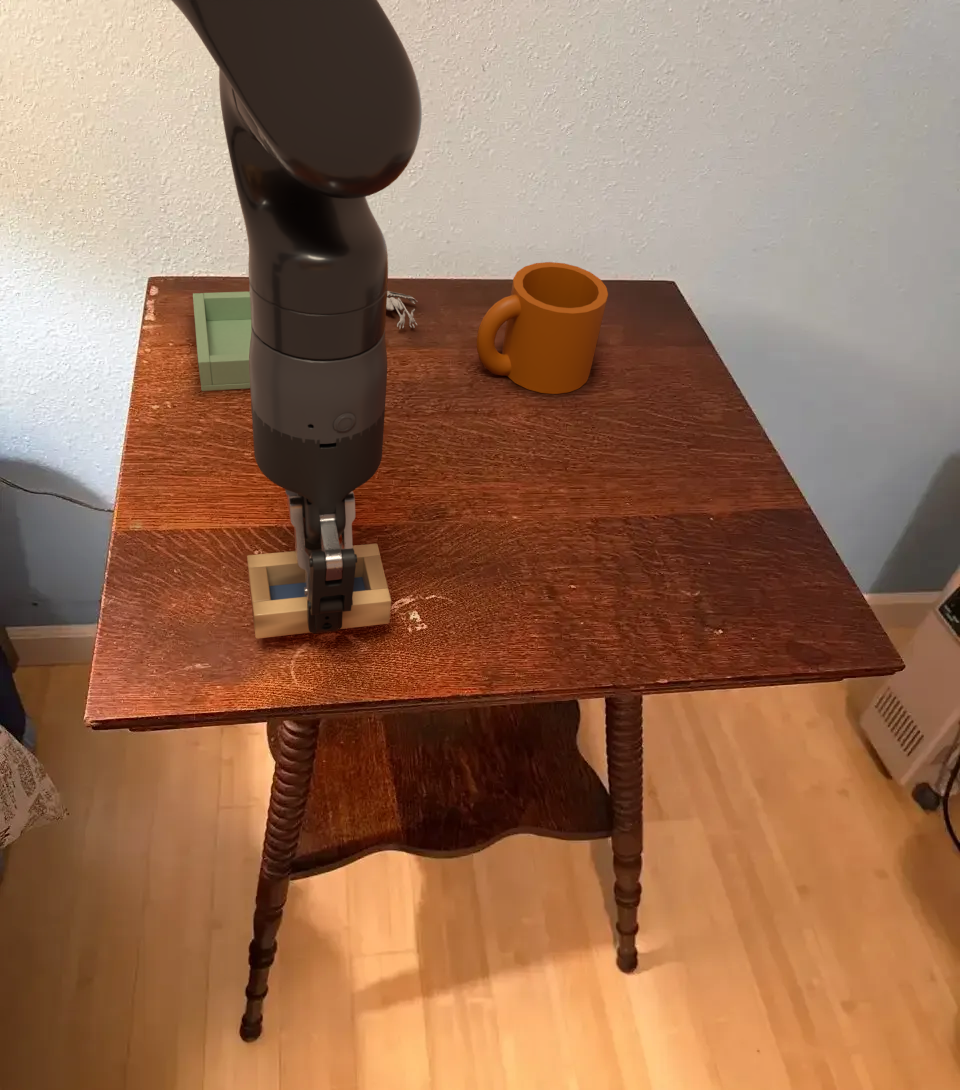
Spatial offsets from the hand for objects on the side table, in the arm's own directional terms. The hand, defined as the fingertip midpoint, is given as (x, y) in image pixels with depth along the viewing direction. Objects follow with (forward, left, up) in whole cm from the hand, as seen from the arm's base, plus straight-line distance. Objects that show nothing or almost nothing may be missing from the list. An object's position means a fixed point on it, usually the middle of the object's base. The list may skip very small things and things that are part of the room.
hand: (318, 594), depth 65 cm
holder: (0, +34, -3) cm, 34 cm away
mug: (+24, +29, -3) cm, 38 cm away
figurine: (+15, +39, -3) cm, 42 cm away
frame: (0, 0, -1) cm, 1 cm away
